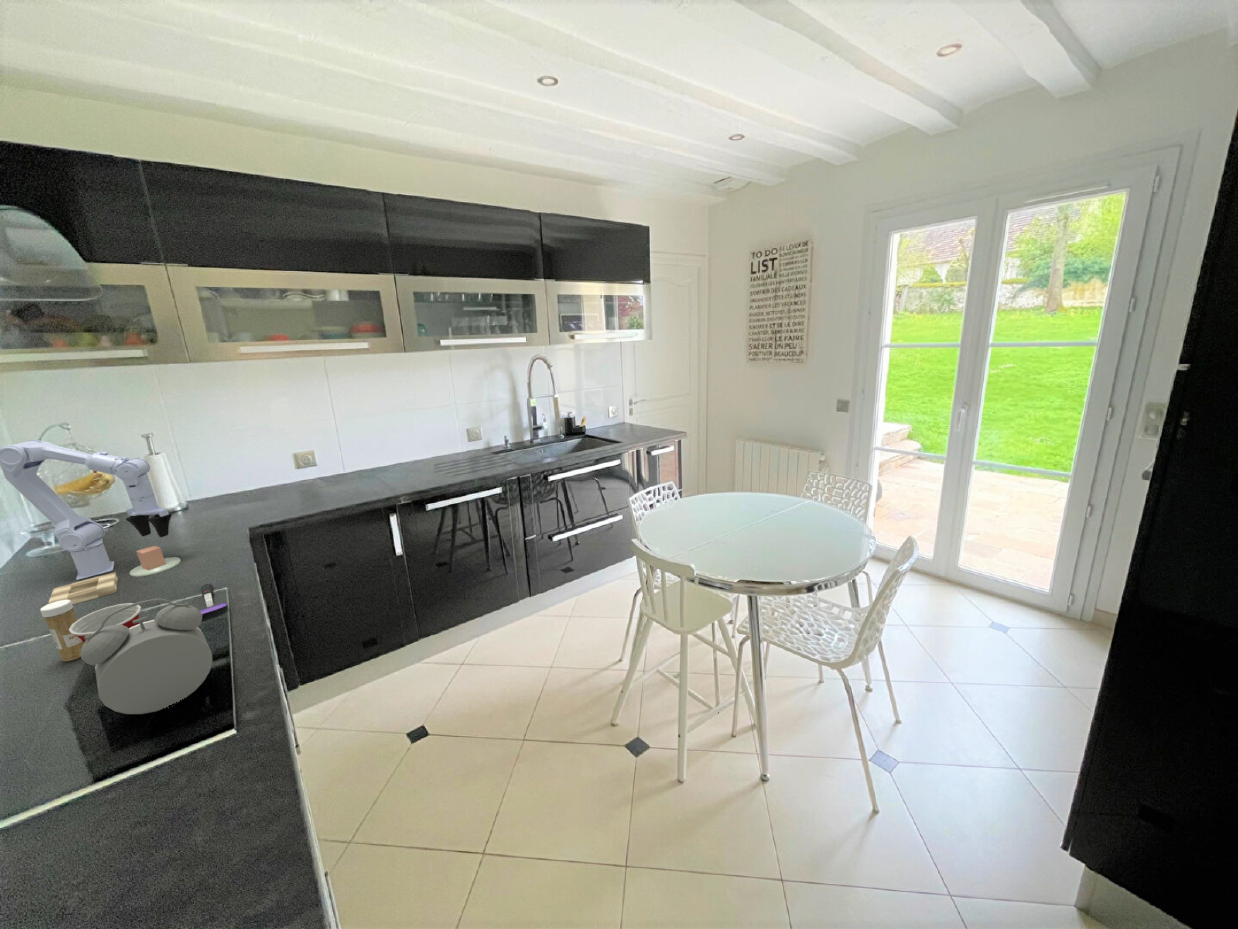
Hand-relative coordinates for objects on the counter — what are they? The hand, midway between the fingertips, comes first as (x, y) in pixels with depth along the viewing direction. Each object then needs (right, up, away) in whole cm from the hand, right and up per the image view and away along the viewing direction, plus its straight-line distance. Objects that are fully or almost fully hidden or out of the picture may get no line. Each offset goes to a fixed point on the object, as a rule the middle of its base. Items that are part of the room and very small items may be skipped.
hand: (155, 535), depth 154 cm
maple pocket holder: (-4, -14, -17) cm, 22 cm away
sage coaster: (+2, -10, -2) cm, 10 cm away
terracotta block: (+2, -10, -2) cm, 10 cm away
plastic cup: (+42, -21, -49) cm, 68 cm away
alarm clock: (+64, -23, -62) cm, 92 cm away
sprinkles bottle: (+27, -21, -46) cm, 57 cm away
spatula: (+39, -15, -24) cm, 49 cm away
